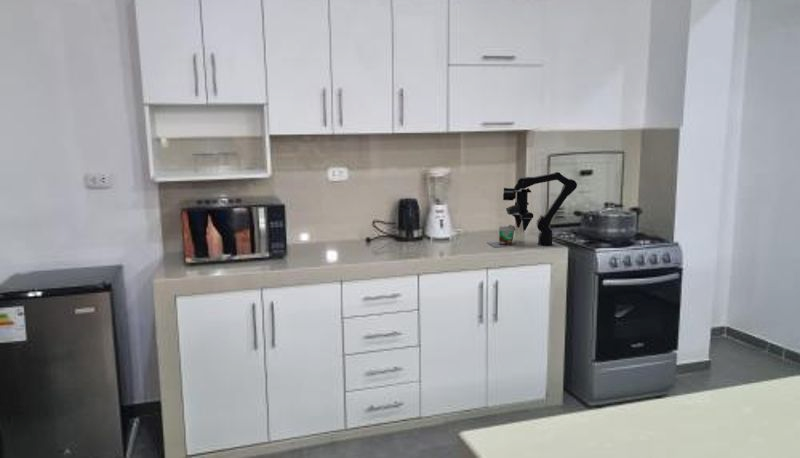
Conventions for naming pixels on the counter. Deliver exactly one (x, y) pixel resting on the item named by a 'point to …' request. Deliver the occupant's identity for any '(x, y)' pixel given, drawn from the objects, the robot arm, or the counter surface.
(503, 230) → the food container
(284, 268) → the counter surface
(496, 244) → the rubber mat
